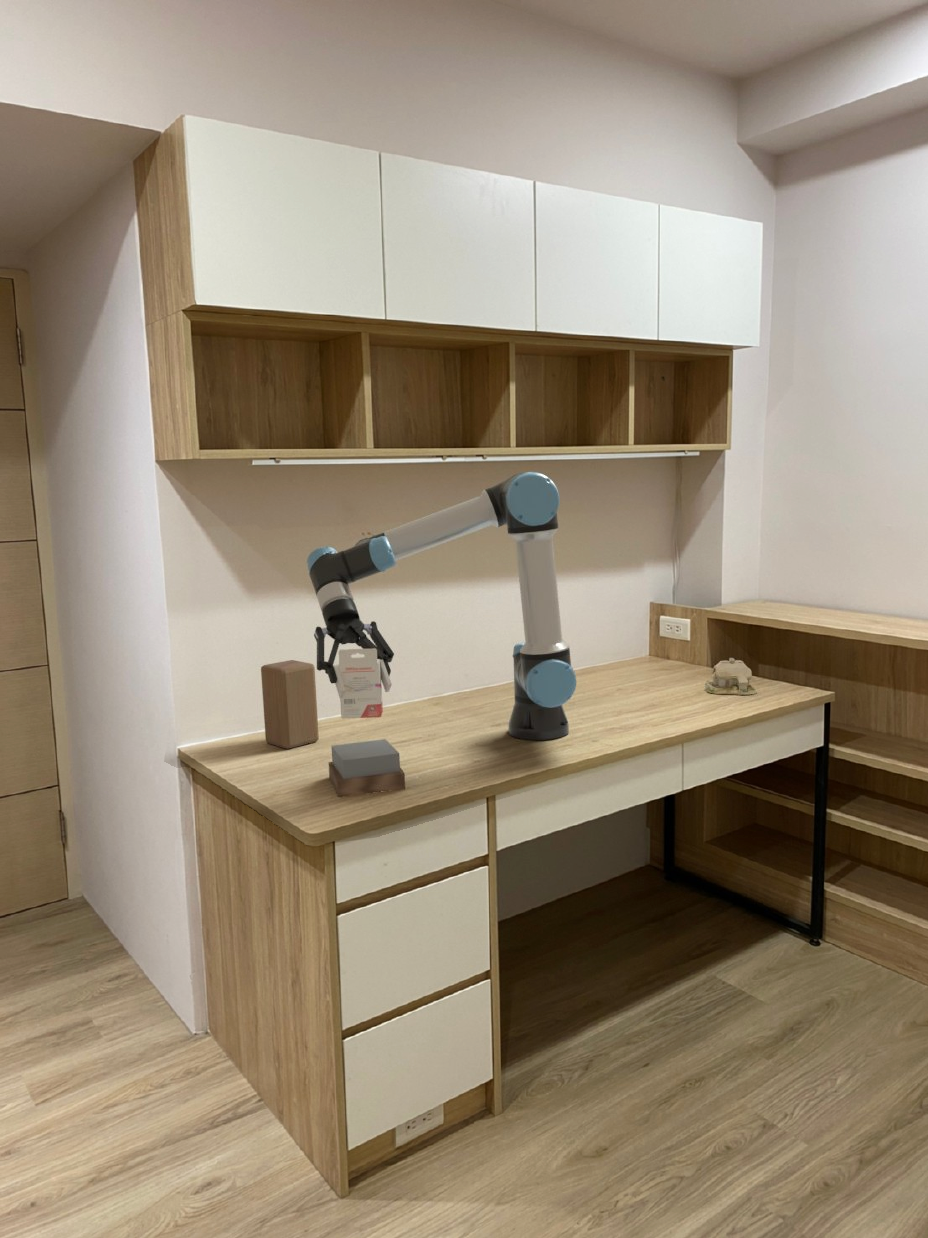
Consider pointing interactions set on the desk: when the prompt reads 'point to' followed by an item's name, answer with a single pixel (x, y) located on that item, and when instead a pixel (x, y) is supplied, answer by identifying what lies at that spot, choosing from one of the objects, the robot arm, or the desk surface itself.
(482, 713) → the desk surface
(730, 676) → the ceramic model
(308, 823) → the desk surface
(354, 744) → the slate grey top slab
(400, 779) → the walnut base slab
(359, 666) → the ink cartridge box
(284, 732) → the wooden block
